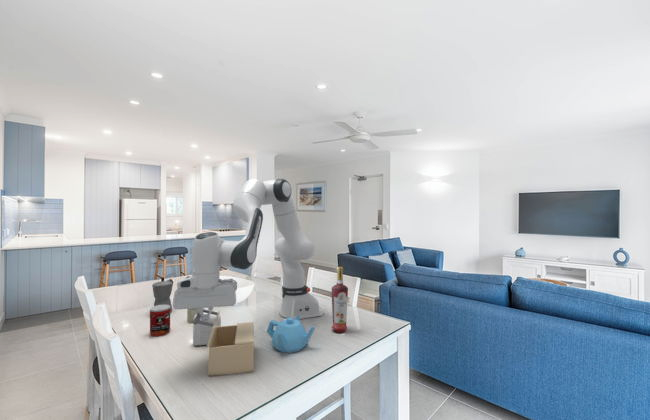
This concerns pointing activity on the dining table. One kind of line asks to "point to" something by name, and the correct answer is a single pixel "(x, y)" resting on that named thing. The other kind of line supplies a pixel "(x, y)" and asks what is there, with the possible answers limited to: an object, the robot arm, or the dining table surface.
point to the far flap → (197, 321)
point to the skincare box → (191, 314)
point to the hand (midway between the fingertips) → (205, 319)
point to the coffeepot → (163, 292)
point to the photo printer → (204, 330)
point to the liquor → (339, 303)
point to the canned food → (159, 320)
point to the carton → (232, 349)
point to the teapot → (289, 335)
